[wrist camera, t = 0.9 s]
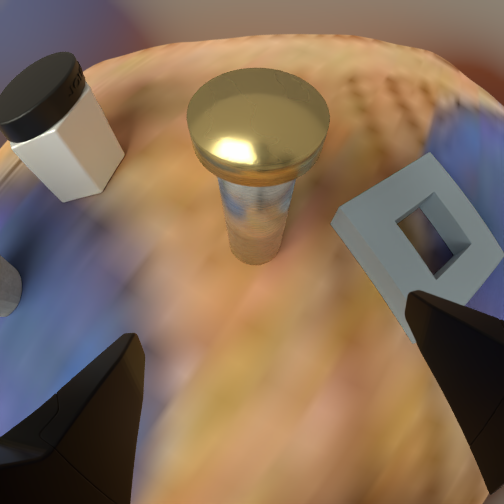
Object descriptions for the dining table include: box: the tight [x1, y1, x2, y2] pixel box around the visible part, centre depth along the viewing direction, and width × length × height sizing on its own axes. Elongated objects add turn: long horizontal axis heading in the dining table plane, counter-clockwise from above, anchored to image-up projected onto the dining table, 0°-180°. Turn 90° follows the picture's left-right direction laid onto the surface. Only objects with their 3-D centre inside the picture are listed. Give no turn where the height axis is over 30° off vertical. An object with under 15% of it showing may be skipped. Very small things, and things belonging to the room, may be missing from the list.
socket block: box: [330, 152, 504, 344], centre depth 23 cm, size 12×12×3 cm
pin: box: [187, 68, 330, 265], centre depth 18 cm, size 6×6×14 cm
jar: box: [0, 52, 125, 203], centre depth 21 cm, size 9×8×12 cm
